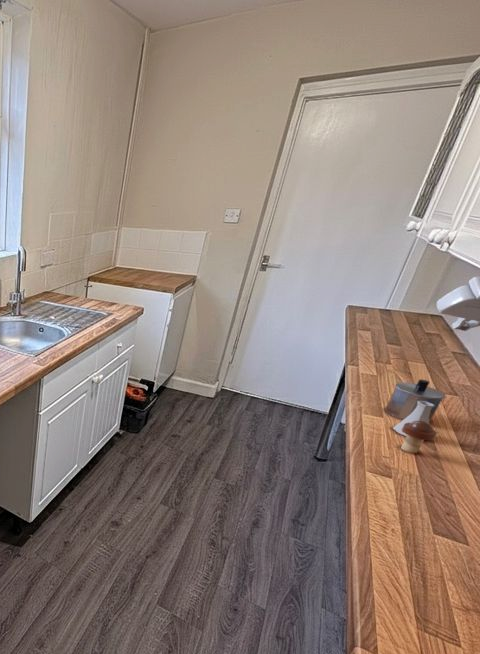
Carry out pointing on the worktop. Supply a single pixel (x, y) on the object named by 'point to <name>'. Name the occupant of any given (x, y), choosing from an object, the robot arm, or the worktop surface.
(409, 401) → the pot
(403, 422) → the flask
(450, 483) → the worktop surface
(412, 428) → the mushroom
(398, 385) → the pot lid
